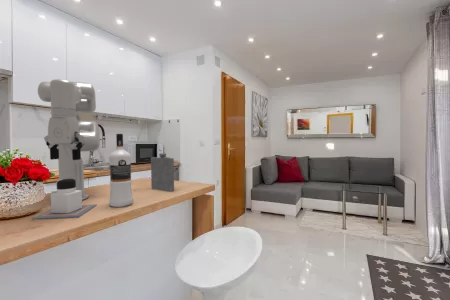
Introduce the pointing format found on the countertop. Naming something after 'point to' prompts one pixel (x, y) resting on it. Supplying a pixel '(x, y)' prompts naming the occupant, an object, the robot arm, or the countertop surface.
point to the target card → (64, 215)
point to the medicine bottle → (66, 197)
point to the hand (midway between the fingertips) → (65, 159)
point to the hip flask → (162, 173)
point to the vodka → (120, 176)
